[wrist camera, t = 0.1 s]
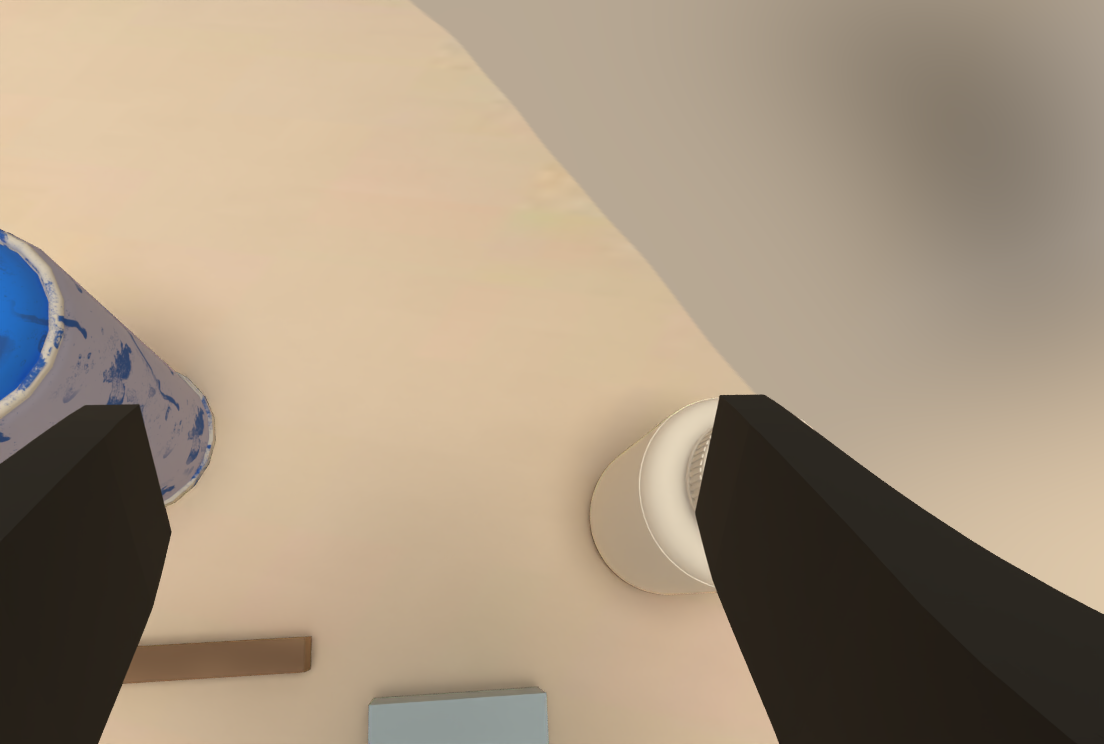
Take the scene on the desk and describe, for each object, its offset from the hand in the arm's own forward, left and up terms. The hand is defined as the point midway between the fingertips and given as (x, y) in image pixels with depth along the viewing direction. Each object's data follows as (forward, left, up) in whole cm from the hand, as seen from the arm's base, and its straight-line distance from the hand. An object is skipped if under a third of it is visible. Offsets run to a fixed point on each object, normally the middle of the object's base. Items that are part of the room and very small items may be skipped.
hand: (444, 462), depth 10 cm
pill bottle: (+2, -12, -32) cm, 34 cm away
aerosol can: (+7, +15, -32) cm, 36 cm away
